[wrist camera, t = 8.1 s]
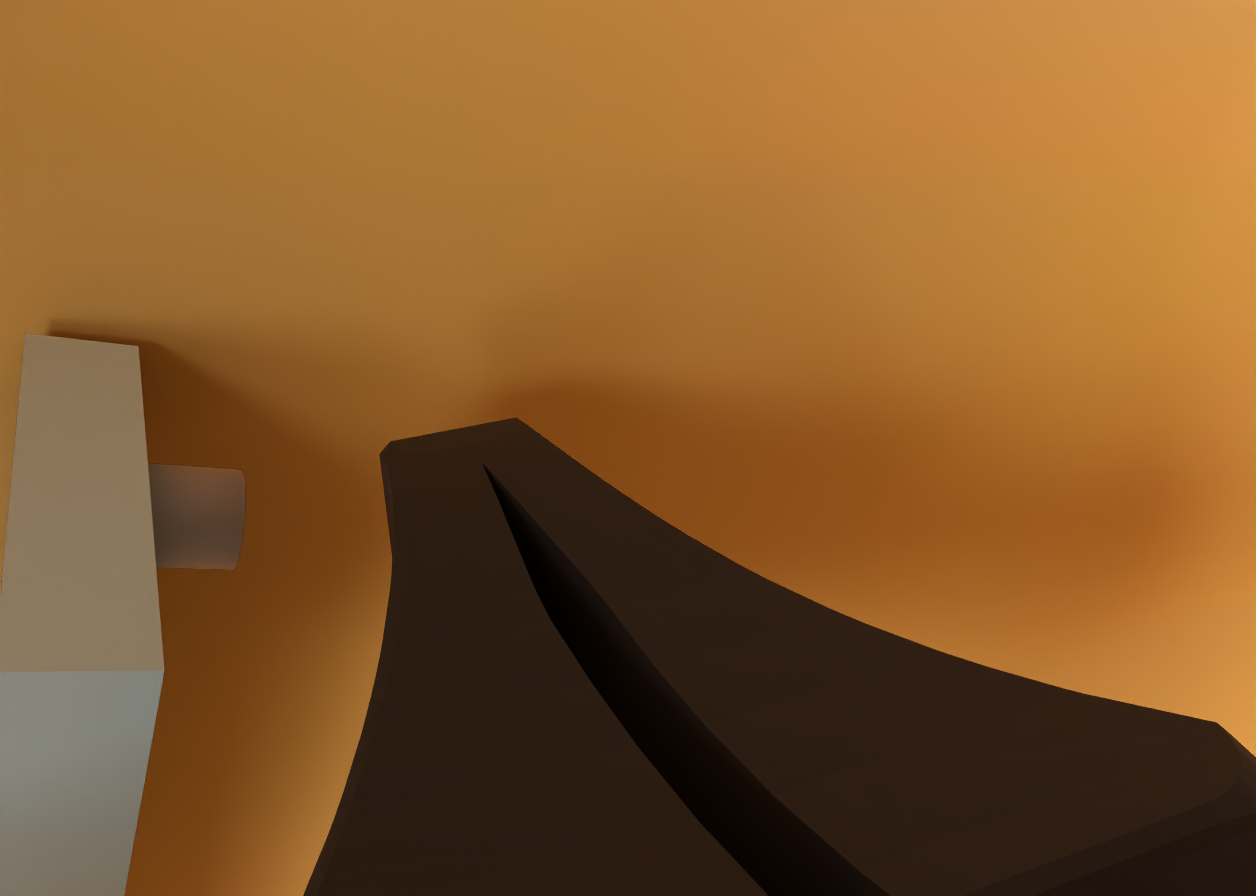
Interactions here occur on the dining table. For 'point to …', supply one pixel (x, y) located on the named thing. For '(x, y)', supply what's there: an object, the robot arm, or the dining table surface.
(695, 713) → the robot arm
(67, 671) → the door
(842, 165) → the dining table surface
